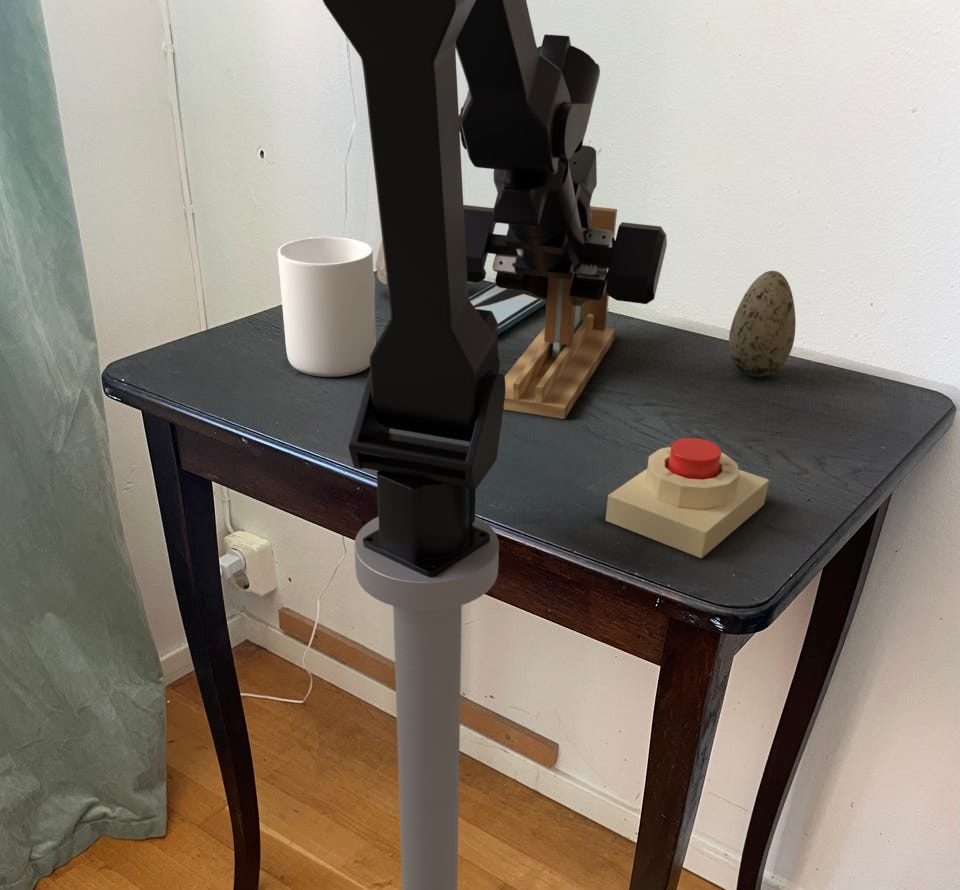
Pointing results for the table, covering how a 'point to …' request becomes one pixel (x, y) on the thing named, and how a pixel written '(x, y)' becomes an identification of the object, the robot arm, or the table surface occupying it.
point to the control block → (686, 504)
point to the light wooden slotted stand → (562, 355)
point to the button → (694, 458)
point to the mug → (328, 305)
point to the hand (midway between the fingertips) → (565, 299)
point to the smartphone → (505, 305)
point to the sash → (561, 315)
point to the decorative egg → (763, 326)
